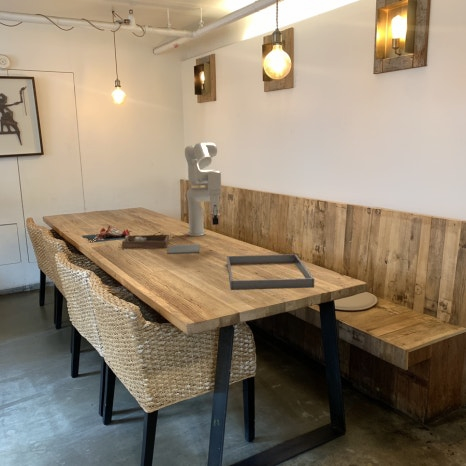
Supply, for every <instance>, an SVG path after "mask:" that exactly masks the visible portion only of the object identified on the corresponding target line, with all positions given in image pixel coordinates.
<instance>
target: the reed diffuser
mask: <svg viewBox="0 0 466 466" xmlns="http://www.w3.org/2000/svg"><path fill="white" fill-rule="evenodd" d="M159 233H161V231H159V232H157V233H155V234H151V235H152V236H153V235H157V236H159V235H164V233H162V234H159ZM150 237H151V236H149V237H147V238H150ZM153 237H154V236H153ZM165 239H166V238H165ZM146 240H149V239H146V238H142V237H135V238H134V242H138V241H146ZM156 241H161V240H156Z"/></svg>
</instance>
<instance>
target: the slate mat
mask: <svg viewBox="0 0 466 466" xmlns="http://www.w3.org/2000/svg"><path fill="white" fill-rule="evenodd" d="M200 248H201V245H200V244H172V245H171V244H170V245H169V247H168V249H167V252H166V254H168V255H170V254H171V255H175V254H180V255H181V254H200Z"/></svg>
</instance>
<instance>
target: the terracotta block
mask: <svg viewBox="0 0 466 466" xmlns="http://www.w3.org/2000/svg"><path fill="white" fill-rule="evenodd" d="M220 217H221V215H220V213H218V225H217V226H221V218H220ZM210 224H211V225H210V226H214V225H213V213H210Z"/></svg>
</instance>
